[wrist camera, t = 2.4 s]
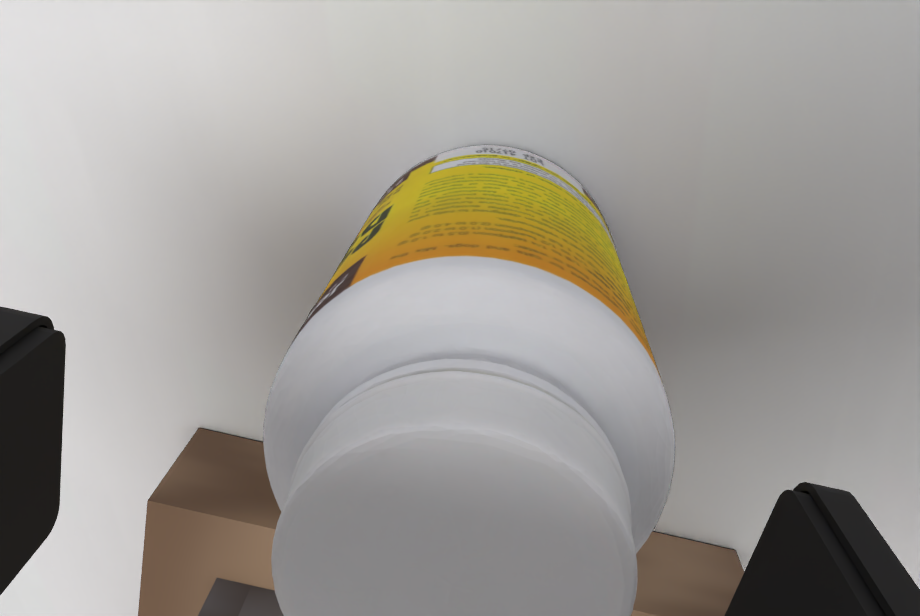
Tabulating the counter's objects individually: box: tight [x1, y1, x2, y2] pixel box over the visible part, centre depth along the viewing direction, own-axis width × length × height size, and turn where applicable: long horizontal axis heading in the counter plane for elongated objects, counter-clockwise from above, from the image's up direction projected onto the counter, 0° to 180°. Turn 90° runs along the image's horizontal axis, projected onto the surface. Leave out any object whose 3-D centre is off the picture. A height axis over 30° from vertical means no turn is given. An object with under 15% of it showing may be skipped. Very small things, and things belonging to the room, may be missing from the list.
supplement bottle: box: [263, 145, 675, 616], centre depth 13 cm, size 6×6×10 cm
